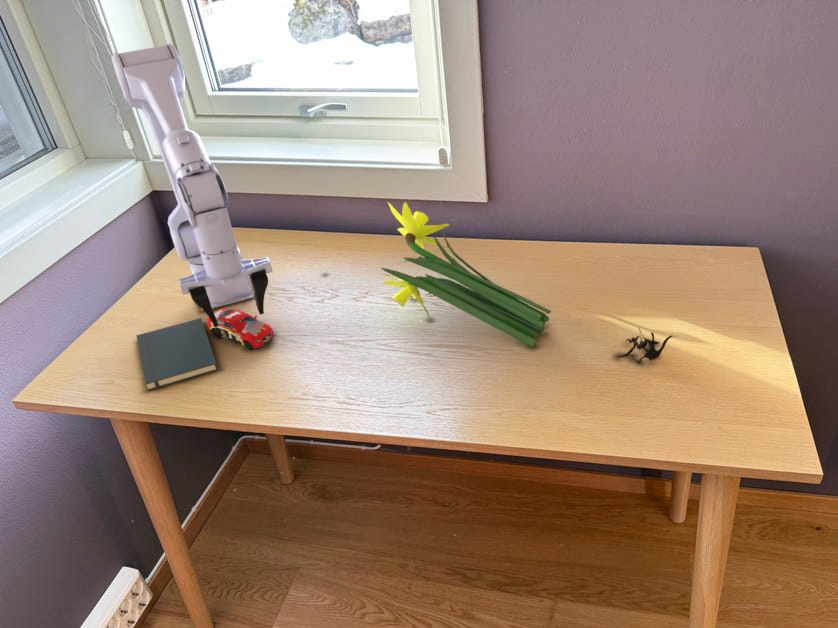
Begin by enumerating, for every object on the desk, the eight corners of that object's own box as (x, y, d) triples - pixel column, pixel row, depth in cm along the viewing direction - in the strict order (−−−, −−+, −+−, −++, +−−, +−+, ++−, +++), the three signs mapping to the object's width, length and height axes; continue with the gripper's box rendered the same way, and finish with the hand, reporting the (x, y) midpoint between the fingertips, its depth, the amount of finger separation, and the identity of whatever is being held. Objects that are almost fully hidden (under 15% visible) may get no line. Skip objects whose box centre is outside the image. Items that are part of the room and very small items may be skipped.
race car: (281, 338, 131) (276, 319, 129) (257, 354, 127) (252, 335, 125) (229, 317, 137) (223, 298, 135) (205, 332, 134) (199, 313, 131)
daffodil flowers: (508, 377, 120) (333, 278, 129) (533, 369, 134) (374, 280, 143) (555, 281, 116) (372, 186, 126) (577, 283, 130) (410, 197, 139)
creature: (608, 357, 123) (638, 374, 117) (605, 327, 121) (635, 342, 114) (647, 343, 126) (679, 358, 119) (645, 313, 124) (677, 326, 117)
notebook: (203, 324, 136) (201, 317, 135) (218, 370, 124) (216, 363, 124) (138, 342, 132) (136, 335, 132) (148, 391, 121) (145, 384, 120)
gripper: (174, 268, 116) (198, 341, 124) (268, 245, 120) (286, 317, 128) (168, 249, 121) (191, 320, 129) (258, 227, 126) (276, 297, 134)
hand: (238, 317), depth 129 cm, fingers open, 7 cm apart
